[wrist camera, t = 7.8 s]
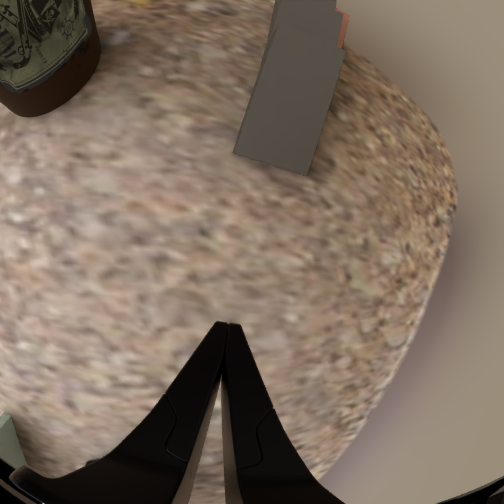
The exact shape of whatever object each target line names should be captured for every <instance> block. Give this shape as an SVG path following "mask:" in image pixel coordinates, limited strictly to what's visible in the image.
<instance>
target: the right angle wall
mask: <svg viewBox="0 0 504 504" xmlns="http://www.w3.org/2000/svg"><path fill="white" fill-rule="evenodd" d="M0 457H1V458H3V459H4V460H5V461H7V462H8V463H9V464H11V465H12V466H14V467H15V468H19V467H20V466H21V465H23V464H26V465H27V462H26V460H25V457H24V455H23V452H22V449H21V446H20V444H19V441H18V438H17V435H16V431H15V428H14V425H13V421H12V418H11V416H10V415H8V414H6V413H3V414H2V415H1V417H0Z"/></svg>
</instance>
